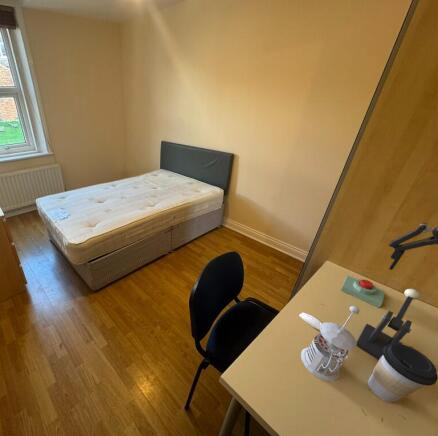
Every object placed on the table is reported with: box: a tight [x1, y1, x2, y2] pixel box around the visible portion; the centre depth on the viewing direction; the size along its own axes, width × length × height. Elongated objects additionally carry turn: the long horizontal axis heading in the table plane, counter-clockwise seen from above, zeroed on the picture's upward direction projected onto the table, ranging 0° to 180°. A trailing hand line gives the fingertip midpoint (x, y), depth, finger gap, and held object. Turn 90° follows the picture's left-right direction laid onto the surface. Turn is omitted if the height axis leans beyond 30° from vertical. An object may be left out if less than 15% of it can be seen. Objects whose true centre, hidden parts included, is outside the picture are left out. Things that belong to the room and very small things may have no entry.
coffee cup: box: [367, 343, 438, 404], centre depth 59 cm, size 9×9×15 cm
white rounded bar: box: [299, 312, 324, 331], centre depth 80 cm, size 3×8×3 cm, turn 36°
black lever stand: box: [356, 310, 413, 361], centre depth 70 cm, size 11×9×13 cm
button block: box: [340, 275, 386, 309], centre depth 91 cm, size 12×9×4 cm
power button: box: [360, 279, 374, 289], centre depth 90 cm, size 4×4×2 cm
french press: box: [300, 305, 360, 382], centre depth 62 cm, size 10×12×25 cm
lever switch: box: [387, 288, 421, 332], centre depth 70 cm, size 15×3×3 cm, turn 127°
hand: (422, 280), depth 68 cm, fingers open, 13 cm apart
